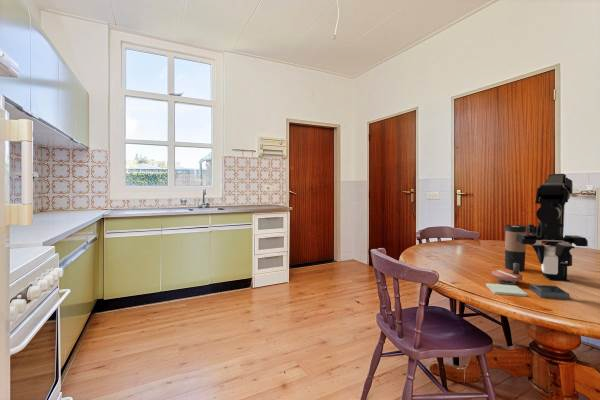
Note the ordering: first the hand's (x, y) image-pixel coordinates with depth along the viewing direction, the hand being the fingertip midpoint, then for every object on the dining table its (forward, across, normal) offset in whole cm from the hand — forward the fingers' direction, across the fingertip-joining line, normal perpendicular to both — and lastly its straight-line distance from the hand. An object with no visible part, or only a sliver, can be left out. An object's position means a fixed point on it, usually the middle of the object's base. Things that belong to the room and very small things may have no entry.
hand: (549, 264), depth 102 cm
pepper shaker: (+3, 0, 0) cm, 3 cm away
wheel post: (+11, +9, -11) cm, 18 cm away
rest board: (+11, +13, -1) cm, 17 cm away
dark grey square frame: (+11, 0, 0) cm, 11 cm away
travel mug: (+11, -2, -33) cm, 35 cm away
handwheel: (+9, +9, -11) cm, 17 cm away
